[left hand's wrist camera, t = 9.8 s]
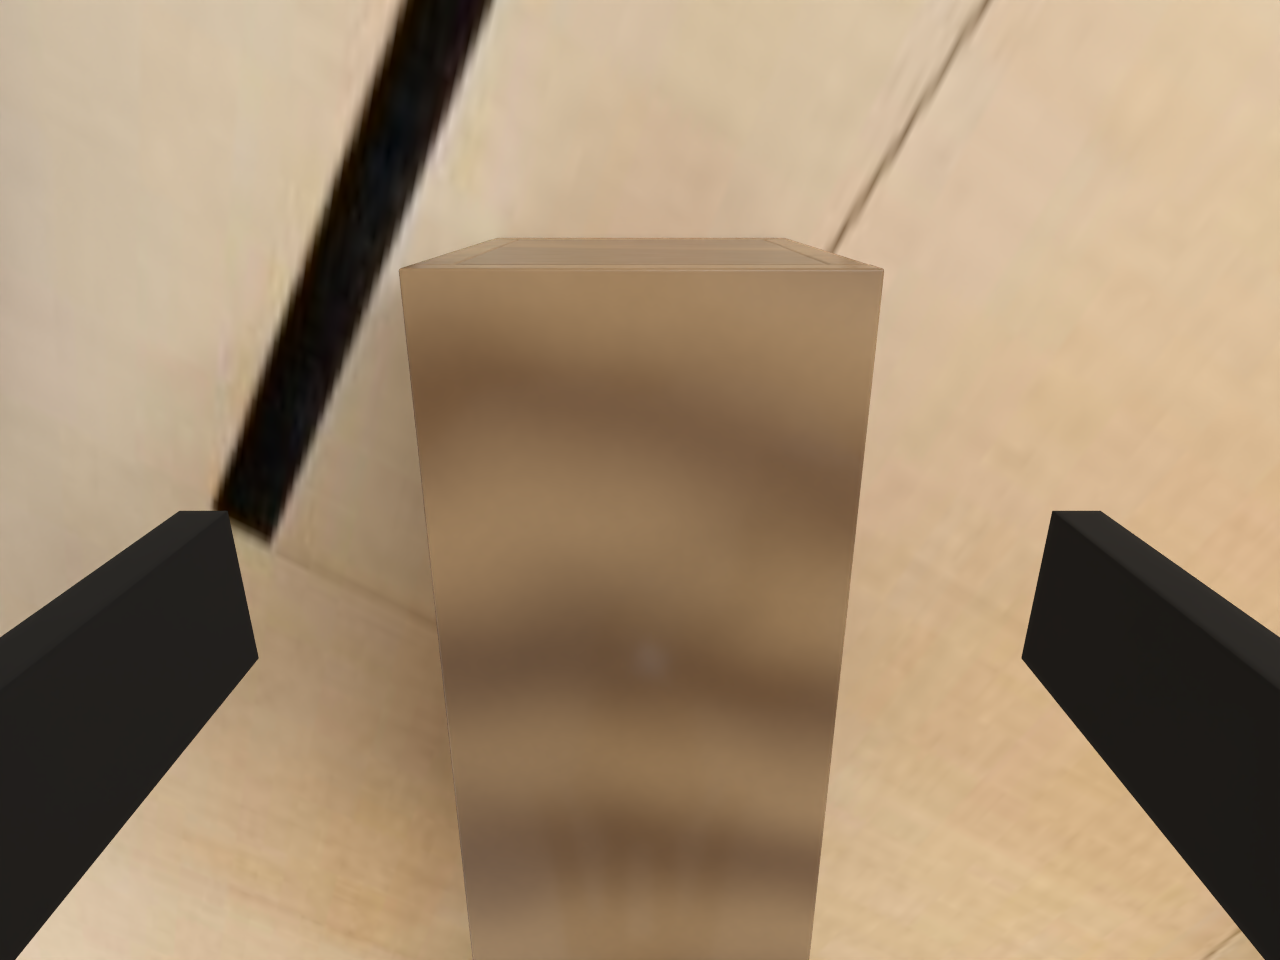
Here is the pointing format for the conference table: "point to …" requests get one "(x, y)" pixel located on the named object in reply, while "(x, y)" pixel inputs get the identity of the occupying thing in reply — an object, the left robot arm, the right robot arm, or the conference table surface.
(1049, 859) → the conference table surface
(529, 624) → the cabinet
